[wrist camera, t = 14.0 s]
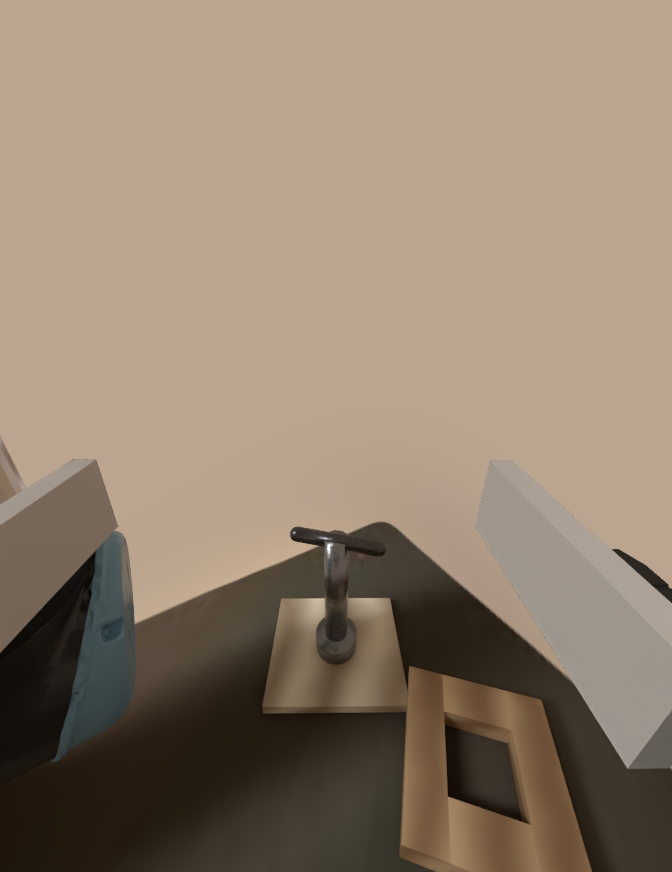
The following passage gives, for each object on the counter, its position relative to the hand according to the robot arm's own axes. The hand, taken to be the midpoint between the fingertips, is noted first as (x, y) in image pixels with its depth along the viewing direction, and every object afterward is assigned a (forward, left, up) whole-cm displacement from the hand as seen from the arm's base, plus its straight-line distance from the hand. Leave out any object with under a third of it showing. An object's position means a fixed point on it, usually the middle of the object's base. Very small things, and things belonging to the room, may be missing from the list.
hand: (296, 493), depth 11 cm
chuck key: (-3, +15, -29) cm, 32 cm away
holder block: (+11, +8, -30) cm, 33 cm away
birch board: (-3, +15, -30) cm, 33 cm away
